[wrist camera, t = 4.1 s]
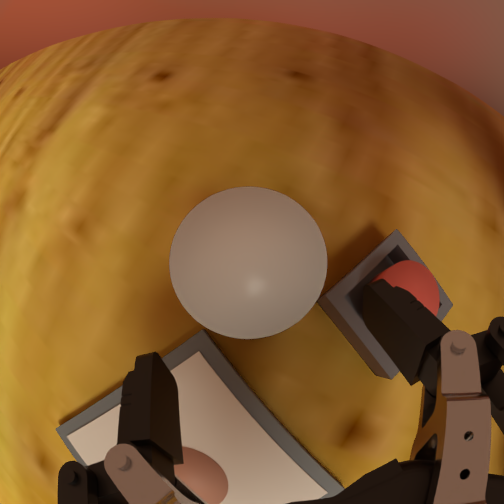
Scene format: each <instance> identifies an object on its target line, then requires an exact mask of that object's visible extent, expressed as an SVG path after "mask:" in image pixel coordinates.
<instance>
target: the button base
mask: <svg viewBox="0 0 504 504" xmlns="http://www.w3.org/2000/svg"><path fill="white" fill-rule="evenodd" d="M405 260H412V261H416V262H418V263H420V264H422V265H424V266H425V267H426V268H427V266H426V265H425V264H424V262H423V261H422V260H421V258H420V257H419V256H418V255H417V253H416V252H415V251H414V249H413V248H412V247H411V246H410V244H409V243H408V242H407V241H406V239H405V238H404V237H403V236H402V234H401V233H400V232H399V231H398V230H397V229H396V230H395V231H394V232H392V233H391V234H390V235H389V236H388V237H386V238H385V239H384V240H383V241H382V242H381V243H380V244H379V245H378V246H377V247H376V248H375V249H373V250H372V251H371V252H370V253H369V254H368V255H367V256H366V257H365V258H364V259H363V260H362V261H361V262H360V263H358V264H357V265H356V266H355V267H354V268H353V269H352V270H351V271H350V272H349V273H348V274H346V275H345V276H344V277H343V278H342V279H341V280H340V281H339V282H337V283H336V284H335V285H334V286H333V287H332V288H331V289H329V290H328V291H327V292H326V293H325V294H324V295H322V296H321V297H320V298H319V299H318V300H317V302H318V304H319V305H320V306H321V307H322V309H323V310H324V311H325V312H326V314H327V315H328V316H329V317H330V319H331V320H332V321H333V322H334V324H335V325H336V326H337V327H338V329H339V330H340V331H341V332H342V334H343V335H344V336H345V337H346V339H347V340H348V341H349V342H350V344H351V345H352V346H353V347H354V349H355V350H356V351H357V352H358V354H359V355H360V356H361V357H362V359H363V360H364V361H365V363H366V364H367V365H368V366H369V368H370V369H371V370H372V371H373V373H374V374H375V375H376V376H380V377H384V378H388V379H391V380H392V379H393V378H394V376H395V375H396V374H397V373H398V372H399V371H400V370H399V369H398V368H397V366H396V365H395V364H394V362H393V361H392V360H391V358H390V357H389V356H388V355H387V353H386V352H385V351H384V349H383V348H382V347H381V345H380V344H379V343H378V342H377V340H376V339H375V338H374V336H373V335H372V334H371V333H370V331H369V330H368V329H367V327H366V325H365V323H364V320H363V289H364V286H365V285H367V284H369V282H370V281H371V280H372V279H373V278H374V277H375V276H376V275H378V274H379V273H381V272H383V271H384V270H386V269H388V268H389V267H391V266H393V265H394V264H396V263H398V262H401V261H405ZM427 269H428V268H427ZM428 270H429V269H428ZM435 280H436V279H435ZM436 283H437V285H438V289H439V297H440V301H439V309H438V313H437V315H436V317H437V318H438V319H439V320H440V321H442V320H443V318H444V317H445V316H446V314H447V313H448V312H449V310H450V309H451V307H452V306H453V304H452V302H451V301H450V299H449V298H448V296H447V295H446V293H445V292H444V290H443V289H442V288H441V286H440V285H439V283H438V282H437V280H436Z"/></svg>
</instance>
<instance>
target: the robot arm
mask: <svg viewBox="0 0 504 504" xmlns="http://www.w3.org/2000/svg"><path fill="white" fill-rule="evenodd" d="M363 320H364V323H365V325H366V327H367V329H368V330H369V331H370V333H371V334H372V335H373V336H374V338H375V339H376V340H377V342H378V343H379V344H380V345H381V347H382V348H383V349H384V351H385V352H386V353H387V355H388V356H389V357H390V358H391V360H392V361H393V362H394V364H395V365H396V366H397V368H398V369H399V370H400V372H401V373H402V374H403V376H404V377H405V378H406V380H407V381H408V382H409V384H410V385H411V386H412V385H413V384H415V383H416V382H418V381H421V382H422V383H423V387H422V397H421V408H420V417H419V425H418V431H417V435H416V438H415V440H414V443H413V446H412V450H411V455H410V460H408V461H403V462H399V463H398V461H397V459H394V460H392V461H390V462H388V463H387V464H385V465H383V466H381V467H379V468H377V469H375V470H373V471H371V472H369V473H367V474H365V475H364V476H362V477H361V478H360V479H358V480H357V481H356V482H354V483H353V484H351V485H350V486H349V487H347V488H346V489H344V490H343V491H341V492H340V493H338V494H337V495H335V496H333V497H329V498H323V499H315V500H306V501H295V502H290V503H287V504H504V476H502V475H495V474H488V471H489V461H490V446H491V415H492V417H493V418H494V420H495V422H496V423H497V425H498V426H499V428H500V429H501V431H502V432H503V434H504V373H503V371H502V370H501V369H500V368H501V367H502V365H504V317H496V318H494V319H493V320H492V321H491V323H490V325H489V328H488V330H486V331H483V332H480V333H477V334H474V335H470V334H468V333H466V332H464V331H460V330H453V331H450V330H449V329H448V328H447V327H446V326H445V325H444V324H443V323H442V322H441V321H440V320H439V319H438V318H437V317H436V316H435V315H434V314H433V313H432V312H431V311H430V310H429V309H427V308H426V307H424V305H423V304H422V303H421V302H420V301H419V300H417V298H416V297H415V296H413V295H412V294H411V293H410V292H409V291H407V290H405V289H403V288H401V287H398V286H395V287H392V286H391V285H390V284H389V283H388V282H387V281H386V280H385V279H379V280H376V281H374V282H371V283H369V284H367V285H365V286H364V289H363ZM121 395H122V397H121V403H120V405H121V407H120V412H119V423H118V437H117V444H116V445H115V446H114V447H112V448H111V449H110V450H109V451H108V452H107V454H106V456H105V460H103V461H100V462H97V463H94V464H91V465H88V466H84V465H82V464H80V463H79V462H76V461H69V462H67V463H65V464H64V465H63V466H62V467H61V469H60V471H59V475H58V504H208V503H207V502H206V501H204V500H203V499H202V498H201V497H200V496H199V495H197V494H196V493H195V492H194V491H193V490H192V489H191V488H190V487H188V486H187V485H186V484H185V483H184V482H183V481H182V480H181V479H180V478H179V477H178V476H177V475H176V474H175V472H174V465H178V464H184V461H183V451H182V441H181V429H180V415H179V398H178V387H177V383H176V380H175V378H174V376H173V374H172V373H171V372H170V370H169V369H168V367H167V366H166V364H165V363H164V362H163V360H162V359H161V357H160V356H159V354H158V353H157V352H152V353H148V354H144V355H139V356H137V357H136V361H135V369H134V371H130V372H128V374H127V376H126V378H125V380H124V382H123V386H122V394H121Z"/></svg>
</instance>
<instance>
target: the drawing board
mask: <svg viewBox="0 0 504 504" xmlns="http://www.w3.org/2000/svg"><path fill="white" fill-rule="evenodd" d="M162 360H163V362H164V363H165V364H166V366H167V367H168V369H169V370H170V372H171V373H172V374H173V376H174V378H175V380H176V383H177V387H178V398H179V415H180V429H181V441H182V451H183V461H184V464H178V465H174V472H175V474H176V475H177V476H178V477H179V478H180V479H181V480H182V481H183V482H184V483H185V484H186V485H187V486H188V487H190V488H191V489H192V490H193V491H194V492H195V493H196V494H197V495H199V496H200V497H201V498H202V499H203V500H204V501H206V502H207V503H208V504H287V503H290V502H295V501H306V500H315V499H323V498H329V497H333V496H335V495H337V494H338V493H340V492H341V491H343V490H344V489H345V488H344V487H343V485H342V484H340V483H339V482H338V481H337V480H336V479H335V478H334V477H333V476H332V475H331V474H330V473H329V472H328V471H327V470H326V469H325V468H324V467H322V466H321V465H320V464H319V463H318V462H317V461H316V460H315V459H314V458H313V457H312V456H311V455H310V454H309V453H308V452H307V451H306V449H305V448H304V447H303V446H302V445H301V444H300V443H299V442H298V441H297V440H296V439H295V438H294V437H293V436H292V435H291V434H290V433H289V432H288V430H287V429H286V428H285V427H284V426H283V425H282V424H281V423H280V422H279V421H278V419H277V418H276V417H275V416H274V415H273V414H272V413H271V412H270V410H269V409H268V408H267V407H266V406H265V405H264V404H263V402H262V401H261V400H260V399H259V398H258V397H257V395H256V394H255V393H254V392H253V391H252V389H251V388H250V387H249V386H248V385H247V383H246V382H245V381H244V380H243V378H242V377H241V376H240V375H239V374H238V372H237V371H236V370H235V369H234V367H233V366H232V365H231V363H230V362H229V361H228V360H227V358H226V357H225V356H224V354H223V353H222V352H221V351H220V349H219V348H218V347H217V345H216V344H215V343H214V341H213V340H212V339H211V337H210V336H209V335H208V333H207V332H206V331H205V330H204V329H202V330H201V331H199V332H198V333H197V334H195V335H194V336H193V337H191V338H190V339H188V340H187V341H186V342H184V343H183V344H181V345H180V346H179V347H177V348H176V349H174V350H173V351H172V352H170V353H169V354H167V355H166V356H164V357H163V358H162ZM122 386H123V385H122ZM122 386H121V387H119V388H118V389H116V390H115V391H113V392H112V393H110V394H109V395H107V396H106V397H104V398H103V399H101V400H100V401H98V402H97V403H95V404H94V405H92V406H91V407H89V408H88V409H86V410H84V411H83V412H81V413H80V414H78V415H77V416H75V417H73V418H72V419H70V420H69V421H67V422H66V423H64V424H62V425H61V426H59V427H58V428H56V431H57V432H58V434H59V435H60V437H61V439H62V440H63V442H64V443H65V445H66V446H67V448H68V449H69V450H70V452H71V453H72V455H73V456H74V458H75V459H76V460H77V462H79V463H80V464H82V465H84V466H88V465H91V464H94V463H97V462H100V461H103V460H105V456H106V454H107V452H108V451H109V450H110V449H111V448H112V447H114V446H115V445H116V444H117V437H118V423H119V412H120V407H121V405H120V403H121V397H122V395H121V394H122Z"/></svg>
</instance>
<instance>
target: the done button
mask: <svg viewBox="0 0 504 504" xmlns="http://www.w3.org/2000/svg"><path fill="white" fill-rule="evenodd" d="M379 279H385V280H386V281H387V282H388V283H389V284H390V285H391V286H392V287H395V286H398V287H401V288H403V289H405V290H407V291H409V292H410V293H411V294H412V295H413V296H415V297H416V298H417V300H419V301H420V302H421V303H422V304H423V305H424V307H426V308H427V309H429V310H430V311H431V312H432V313H433V314H434V315H435V316H436V315H437V313H438V309H439V301H440V297H439V289H438V285H437V283H436V280H435V278H434V276H433V275H432V273H431V272H430V271H429V270H428V269H427V268H426V267H425V266H424V265H422V264H420V263H418V262H416V261H412V260H405V261H401V262H398V263H396V264H394V265H393V266H391V267H389V268H388V269H386V270H384V271H383V272H381V273H379V274H378V275H376V276H375V277H374V278H373V279H372V280H371V281H370V282H369V283H371V282H374V281H376V280H379Z"/></svg>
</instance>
